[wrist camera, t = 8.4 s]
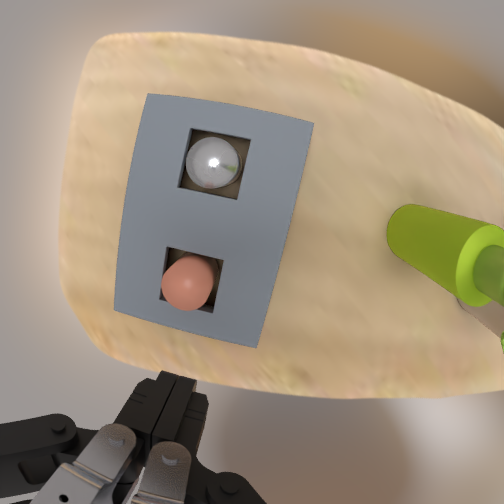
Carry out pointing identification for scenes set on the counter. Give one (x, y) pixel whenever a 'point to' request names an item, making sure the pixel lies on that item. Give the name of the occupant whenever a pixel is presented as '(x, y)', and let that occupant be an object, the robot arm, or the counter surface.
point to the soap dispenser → (451, 252)
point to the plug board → (208, 215)
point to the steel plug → (213, 163)
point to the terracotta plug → (189, 281)
